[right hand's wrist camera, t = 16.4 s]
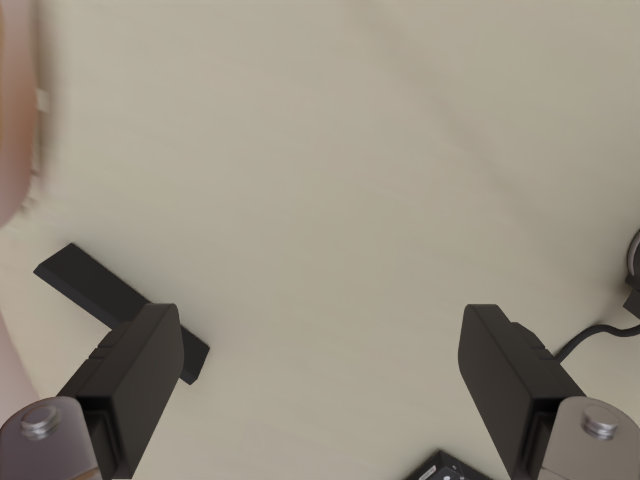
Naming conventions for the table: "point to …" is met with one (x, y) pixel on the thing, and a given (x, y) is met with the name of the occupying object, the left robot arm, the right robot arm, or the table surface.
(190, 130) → the table surface
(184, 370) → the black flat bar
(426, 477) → the disk drive
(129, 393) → the right robot arm
